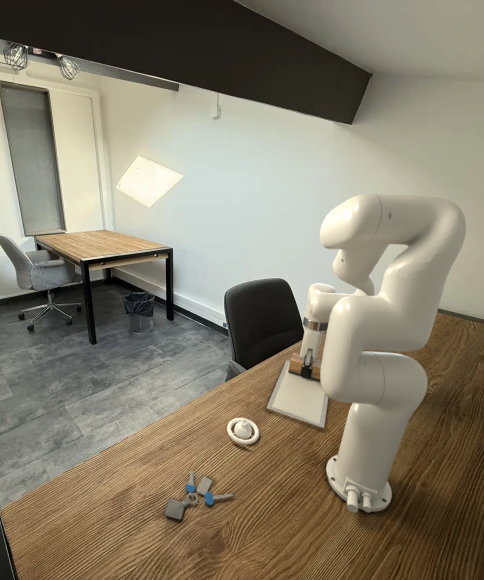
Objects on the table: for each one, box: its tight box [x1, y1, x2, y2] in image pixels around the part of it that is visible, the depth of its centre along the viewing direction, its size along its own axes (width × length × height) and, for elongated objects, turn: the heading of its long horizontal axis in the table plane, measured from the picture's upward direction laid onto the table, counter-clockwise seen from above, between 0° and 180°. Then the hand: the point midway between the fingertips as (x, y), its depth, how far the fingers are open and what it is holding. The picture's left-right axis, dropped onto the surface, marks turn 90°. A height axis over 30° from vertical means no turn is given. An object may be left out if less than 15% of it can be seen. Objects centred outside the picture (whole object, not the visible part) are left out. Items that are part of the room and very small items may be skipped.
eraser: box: [288, 352, 322, 382], centre depth 100 cm, size 5×11×5 cm, turn 63°
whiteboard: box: [266, 359, 329, 429], centre depth 94 cm, size 28×15×1 cm, turn 153°
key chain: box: [164, 470, 234, 520], centre depth 62 cm, size 14×8×1 cm, turn 114°
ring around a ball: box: [226, 417, 260, 446], centre depth 76 cm, size 8×6×8 cm
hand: (306, 371), depth 101 cm, fingers closed on eraser, 5 cm apart
